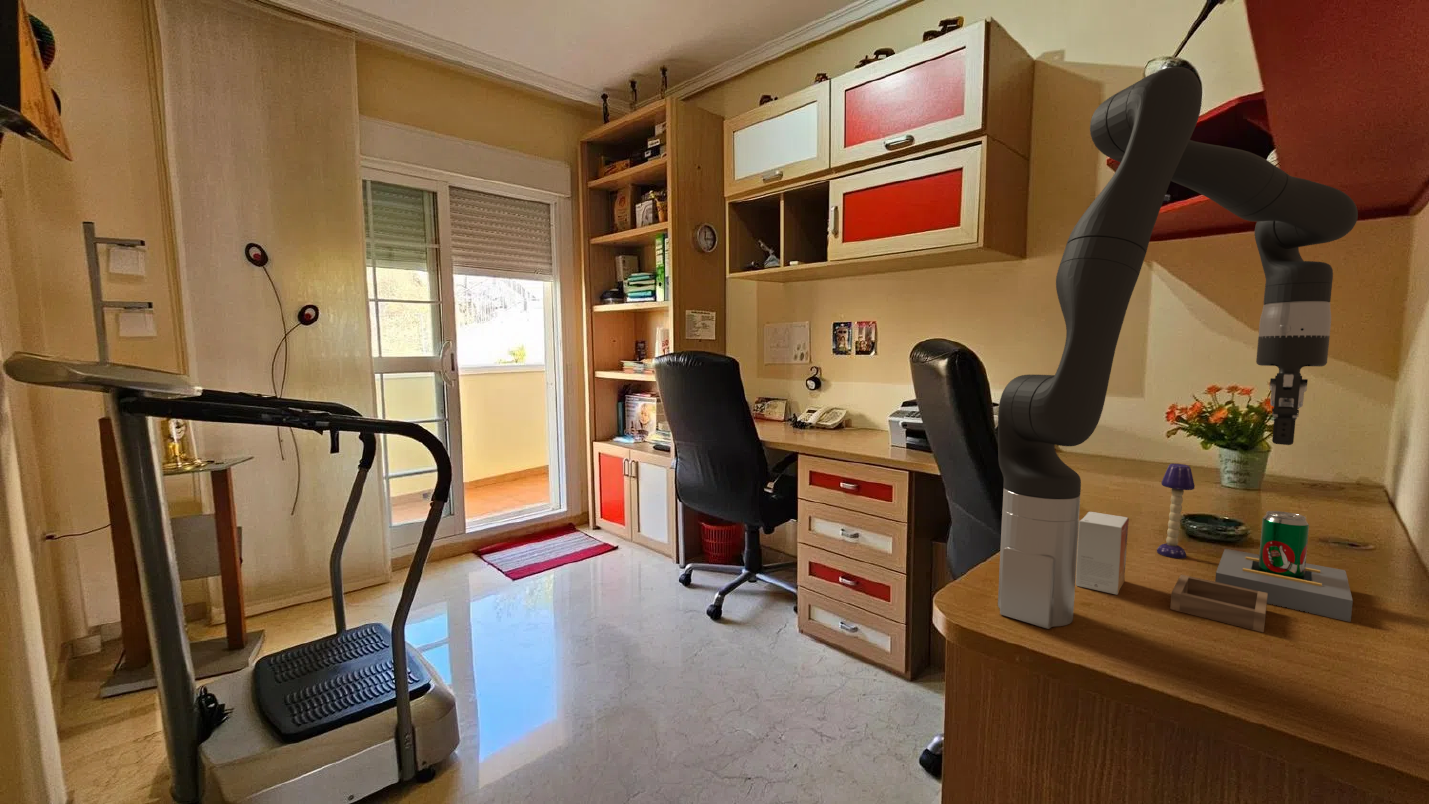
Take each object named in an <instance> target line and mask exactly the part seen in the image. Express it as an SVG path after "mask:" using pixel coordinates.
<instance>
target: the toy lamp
mask: <svg viewBox="0 0 1429 804" xmlns="http://www.w3.org/2000/svg"><path fill="white" fill-rule="evenodd" d="M1195 485H1196V484H1195V481H1194V476H1193V473H1192V469H1191V467H1190V465H1187V464H1184V463H1183V464H1182V463H1170V464H1168V466H1167V469H1166V471H1165V473H1164V476H1163V478H1162V480H1161V486H1163V487H1165V488H1168V489H1169V488H1170V489H1171V490H1170V491H1171V492H1170V493H1171V496H1170V502H1171V503H1170V505H1169V510H1170V512H1169V514H1168V518H1169V520H1168V522H1167V526H1168V529H1167V531H1166V534H1167V535H1166V536H1167V537H1166V539H1165V541H1166V543H1162V544H1160V545H1159V546H1158V547H1157V549H1156V553H1157V554H1159V555H1160V556H1161V555H1162V556H1164V557H1167V558H1171V559H1186V558H1187V552H1186V550H1185V549H1184V548H1183V547H1182V546H1180V545H1179V538H1178V537H1179V536H1180V528H1181V519H1182V513H1181V512H1182V511H1183V510H1182V509H1183V505H1182V504H1183V501H1184V499H1183V495H1184V491H1193V490H1195Z"/></svg>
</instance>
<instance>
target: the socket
mask: <svg viewBox="0 0 1429 804" xmlns="http://www.w3.org/2000/svg"><path fill="white" fill-rule="evenodd" d="M1258 566H1259V554H1257V553H1252V552H1247V551H1242V550H1241V551H1240V550H1235V549H1228V548H1224V550H1223V553H1222V554H1221V558H1220V561H1219V563H1218V566H1217V569H1216V571H1215V579H1214V582H1219V583H1223V584H1228V585H1233V586H1237V587H1242V588H1247V589H1251V590H1256V591H1261V592H1265V593H1268V595H1267V605H1272V604H1273V606H1276V605H1277V607H1281V606H1282V607H1283V608H1285V607H1287V608H1286V609H1290V610H1294V609H1295V611H1299V610H1300V612H1303V611H1305V612H1304V613H1308V612H1309V613H1308V614H1313V615H1317V616H1322V617H1327V618H1330V619H1336V620H1340V621H1344V622H1349V623H1351V620H1352V614H1353V613H1352V611H1353V602H1354V599H1353V597H1352V593H1351V587H1350V584H1349V580H1348V575H1347V572H1346V570H1345V569H1340V568H1335V567H1328V566H1323V565H1318V564H1317V565H1316V564H1313V563H1312V564H1311V563H1307V562H1306V566H1305V577H1304V580H1302V579H1297V578H1292V577H1287V576H1281V575H1276V574H1271V573H1266V572H1261V571H1258Z"/></svg>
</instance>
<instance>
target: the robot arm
mask: <svg viewBox="0 0 1429 804" xmlns="http://www.w3.org/2000/svg"><path fill="white" fill-rule="evenodd" d="M1202 93H1203V90H1202V86H1201V84H1200V81H1199V79H1198V77H1197V75H1196V74H1195V73H1194V72H1193V71H1192V70H1191V69H1189V68H1186V67H1183V66H1169V67H1166V68H1163V69H1161V70H1159V71H1156V72H1153V73H1150V74H1149V75H1147V76H1145V77H1143V78H1142V79H1140V80H1137V82H1134V83H1133V84H1131V85H1129V86H1128V87H1126V88H1124V89H1122V90H1120V91H1118V92H1116V93H1115V94H1113V95H1111V96H1110V97H1108V98H1107V99H1106V100H1104V101H1103V102H1101V104H1099V106H1098V107H1097V108H1096V109H1095V110H1094V112H1093V114H1092V116H1091V118H1090V119H1091V120H1090V126H1089V133H1090V134H1089V135H1090V137H1091V141H1092V142H1093V144H1094V146H1095V147H1096V149H1097V150H1098V151H1100V153H1102V154H1103V155H1104V156H1105V157H1107V158H1109V159H1111V160H1114V161H1116V162H1119V163H1120V164H1119V165H1118V167H1117V169H1116V171H1115V172H1114V173H1113V175H1112V177H1111V178H1110V179H1109V181H1108V183H1106V185H1105V186H1104V187H1103V189H1102V190H1101V191H1100V192H1099V194H1098V195H1097V196H1096V197H1095V199H1094V200H1093V201H1092V202H1091V204H1090V205H1089V206H1088V207H1087V209H1086V210H1085V211H1084V213H1083V214H1082V215H1081V216H1080V218H1079V219H1078V221H1077V223H1076V224H1075V225H1074V227H1073V229H1072V231H1070V235H1069V236H1068V238H1067V241H1066V244H1065V247H1064V251H1063V254H1062V256H1061V259H1060V263H1059V266H1058V269H1057V273H1056V278H1055V288H1056V290H1055V291H1056V295H1057V299H1058V302H1059V305H1060V309H1061V313H1062V316H1063V320H1064V324H1065V328H1066V329H1065V330H1066V335H1065V336H1066V337H1065V342H1064V347H1063V352H1062V354H1061V359H1060V361H1059V365H1058V367H1057V369H1056V372H1055V374H1022V375H1019V376H1016V377H1015V378H1013V379H1011V380H1010V381H1009V382H1008V384H1007V385H1006V386H1005V387H1004V389H1003V390H1002V393H1001V396H1000V399H999V404H998V413H997V447H998V448H997V451H998V452H997V453H998V454H997V455H998V458H997V459H998V466H999V469H1000V471H1001V474H1002V477H1003V486H1002V487H1003V490H1002V491H1003V493H1002V495H1003V496H1002V511H1001V514H1002V515H1001V527H1000V530H1001V531H1000V533H1001V535H1000V548H999V549H1000V553H999V571H998V595H997V606H998V608H999V615H1002V616H1004V617H1008V618H1011V619H1014V620H1017V621H1020V622H1024V623H1028V624H1031V625H1035V626H1037V627H1040V628H1043V629H1048V630H1049V629H1051V628H1052V627H1061V626H1068V625H1069V624H1071V623H1073V621H1074V610H1075V608H1074V607H1075V594H1076V592H1075V591H1076V567H1077V548H1078V531H1079V521H1080V506H1081V491H1082V490H1081V487H1082V480H1081V476H1080V475H1079V473H1077V471H1076V470H1074V469H1072V468H1071V467H1069V466H1068V465H1067V464H1066V463H1065V462H1064V461H1063V460H1062V459H1061V458H1060V457H1059V455H1058V454H1057V452H1056V447H1055V446H1060V447H1061V446H1062V447H1076V446H1079V445H1081V444H1083V443H1085V442H1086V441H1088V440H1089V439H1090V437H1091V436H1092V435H1093V434H1094V431H1096V428H1097V425H1098V424H1099V421H1100V419H1101V416H1102V414H1103V410H1104V406H1105V401H1106V397H1107V391H1108V386H1109V384H1110V383H1109V382H1110V378H1111V372H1112V367H1113V362H1114V359H1115V358H1114V357H1115V354H1116V349H1117V345H1118V341H1119V337H1120V334H1121V330H1122V327H1123V323H1124V321H1125V316H1126V313H1127V311H1128V307H1129V303H1130V301H1131V297H1132V295H1133V293H1134V289H1135V287H1136V284H1137V282H1138V279H1139V276H1140V272H1141V271H1142V267H1143V264H1144V262H1145V261H1144V260H1145V257H1146V255H1147V251H1148V247H1149V244H1150V242H1151V241H1150V240H1151V236H1152V233H1153V230H1154V228H1155V225H1156V221H1157V220H1158V216H1159V214H1160V211H1161V208H1162V206H1163V203H1164V200H1165V197H1166V194H1167V191H1168V189H1169V186H1170V184H1171V182H1173V183H1176V184H1177V185H1180V186H1182V187H1185V188H1188V189H1190V190H1191V191H1194V192H1195V193H1198V194H1200V195H1201V196H1204V197H1206V198H1207V199H1209V200H1211V201H1213V202H1214V203H1216V204H1218V205H1219V206H1221V207H1222V208H1223V209H1226V210H1227V211H1229V212H1230V213H1232V214H1233V215H1235V216H1237V217H1239V218H1240V219H1242V220H1245V221H1248V222H1255V226H1254V227H1255V228H1254V239H1255V243H1256V247H1257V250H1258V254H1259V258H1260V262H1261V266H1262V270H1263V274H1264V278H1265V286H1264V294H1263V295H1264V296H1263V307H1262V310H1261V311H1262V312H1261V314H1260V317H1259V318H1260V319H1259V326H1258V337H1257V346H1256V347H1257V349H1256V358H1255V359H1256V360H1255V363H1256V364H1257V365H1258V366H1261V367H1262V366H1263V367H1264V366H1265V367H1266V366H1267V367H1269V366H1270V367H1277V368H1278V372H1277V373H1276V375H1275V377H1274V378H1273V377H1271V378H1270V379H1269V390H1270V391H1271V392H1270V399H1269V400H1270V402H1269V403H1270V406H1271V407H1272V409H1271V413H1272V414H1271V416H1272V417H1273V430H1272V440H1271V441H1272V443H1273V444H1275V445H1283V446H1291V445H1293V444H1294V442H1295V441H1294V439H1295V430H1296V429H1295V428H1296V420H1297V418H1299V413H1300V408H1302V407H1304V397H1305V393H1306V392H1307V390H1308V378H1303V375H1302V374H1301V369H1303V368H1305V367H1324V366H1326V365H1327V363H1328V357H1329V348H1330V347H1329V345H1330V339H1331V338H1330V337H1331V336H1330V335H1331V327H1332V325H1331V324H1332V312H1331V299H1332V288H1333V281H1334V270H1333V267H1332V266H1331V264H1329V263H1327V262H1325V261H1324V262H1323V261H1314V260H1313V261H1312V260H1311V261H1310V260H1304V259H1303V258H1302V256H1301V253H1300V251H1299V248H1302V247H1307V246H1315V245H1320V244H1326V243H1330V242H1331V243H1332V242H1334V241H1337V240H1339V239H1341V238H1343V237H1346V235H1348V234H1349V233H1350V232H1351V231H1352V230H1353V229H1354V227H1355V226H1356V224H1357V221H1358V217H1359V215H1358V214H1359V212H1358V207H1357V205H1356V203H1355V201H1354V199H1352V198H1351V197H1350V196H1349V194H1346V193H1345V192H1344V191H1342V190H1340V189H1338V188H1335V187H1333V186H1331V185H1330V186H1329V185H1327V184H1323V183H1320V182H1316V181H1312V180H1310V179H1305V178H1301V177H1296V176H1292V175H1290V174H1288V173H1287V172H1286V171H1284V170H1282V169H1281V168H1279V167H1278V166H1277V165H1275V164H1273V163H1271V162H1270V161H1269V160H1267V159H1266V158H1264V157H1262V156H1261V155H1258V154H1255V153H1253V152H1251V151H1246V150H1243V149H1240V148H1239V149H1238V148H1235V147H1234V148H1233V147H1230V146H1229V147H1228V146H1224V145H1223V146H1222V145H1216V144H1210V143H1204V142H1199V141H1195V140H1191V138H1192V135H1193V132H1194V131H1195V128H1196V126H1197V123H1198V121H1199V118H1200V114H1201V110H1202V103H1203V101H1202V100H1203V94H1202Z"/></svg>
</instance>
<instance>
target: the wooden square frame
mask: <svg viewBox="0 0 1429 804" xmlns="http://www.w3.org/2000/svg"><path fill="white" fill-rule="evenodd" d="M1267 595H1268V593H1265V592H1261V591H1256V590H1251V589H1247V588H1242V587H1237V586H1233V585H1228V584H1223V583H1219V582H1215V580H1210V579H1209V580H1208V579H1204V578H1200V577H1196V576H1195V577H1194V576H1192V575H1191V576H1189V575H1185V574H1180V576H1179V578H1178V580H1177V581H1176V583H1175V585H1174V587H1173V588H1172V590H1171V594H1170V610H1173V611H1176V612H1180V613H1184V614H1189V615H1192V616H1196V617H1200V618H1205V619H1208V620H1212V621H1215V622H1220V623H1225V624H1228V625H1232V626H1236V627H1240V628H1244V629H1248V630H1252V631H1256V632H1260V633H1264V631H1265V624H1266V623H1265V622H1266V617H1267V616H1266V614H1267V606H1268V603H1267Z"/></svg>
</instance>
